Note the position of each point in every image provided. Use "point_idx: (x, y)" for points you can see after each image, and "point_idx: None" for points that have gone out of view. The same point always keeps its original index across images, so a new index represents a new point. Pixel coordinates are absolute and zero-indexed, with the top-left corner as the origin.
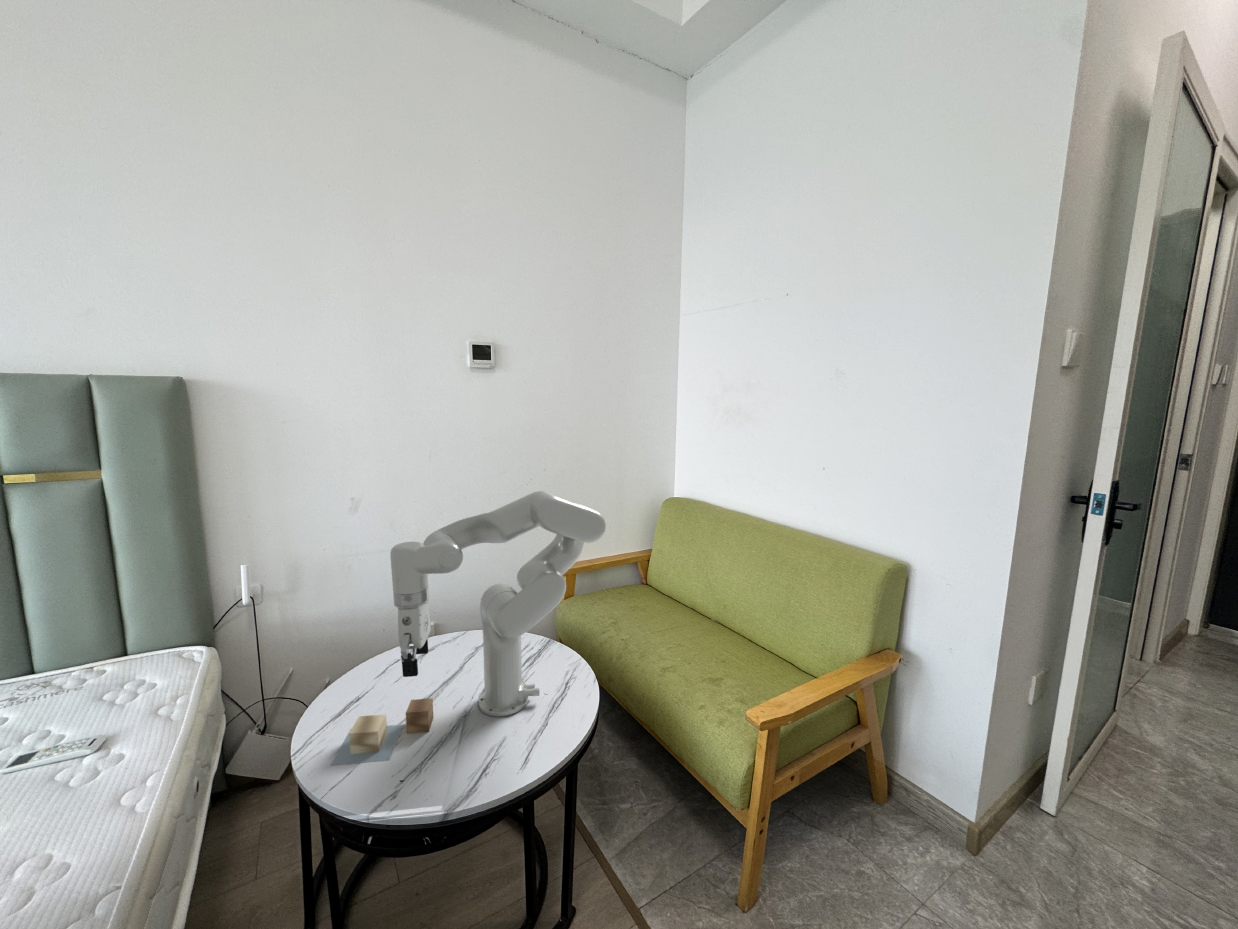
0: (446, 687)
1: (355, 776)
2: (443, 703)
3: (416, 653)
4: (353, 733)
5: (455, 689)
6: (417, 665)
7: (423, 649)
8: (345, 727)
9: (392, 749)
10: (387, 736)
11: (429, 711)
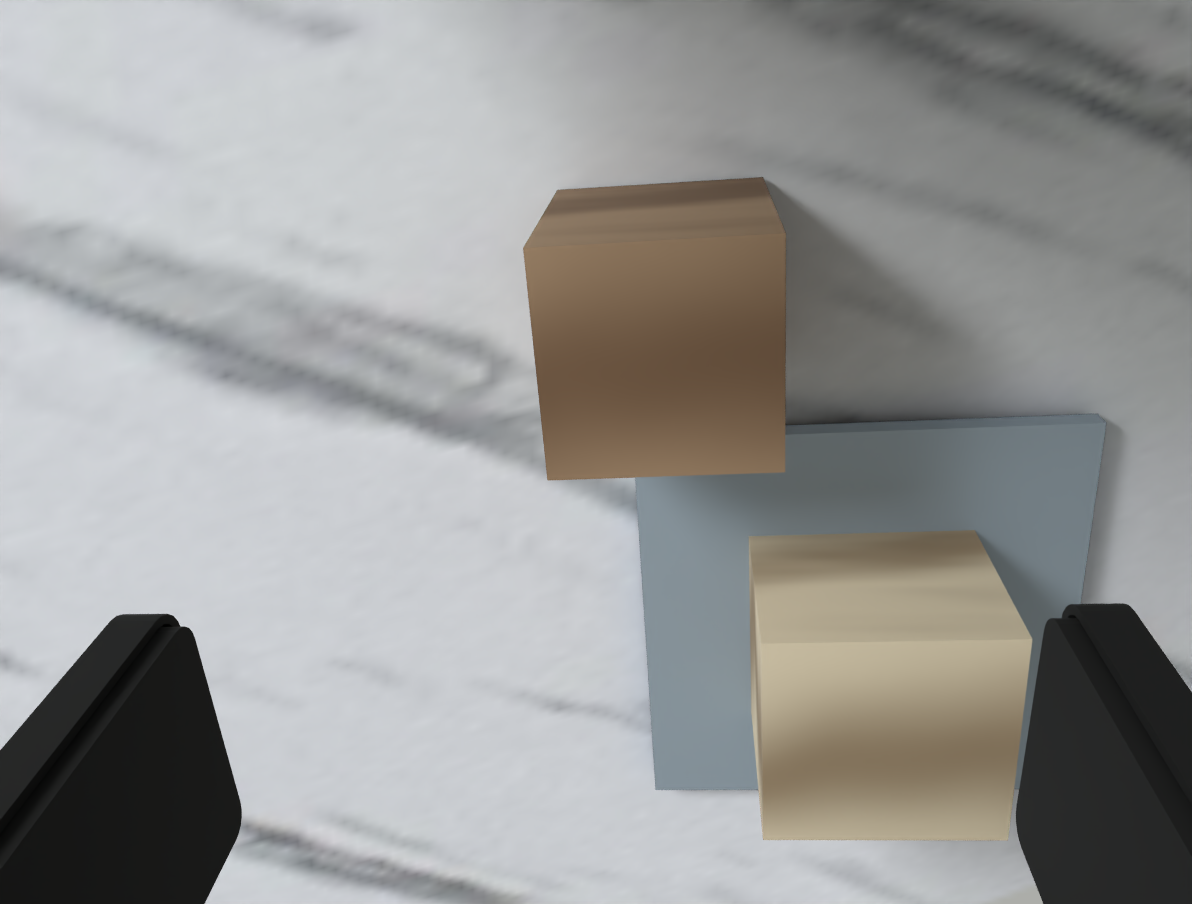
0: (9, 204)
1: (1174, 602)
2: (275, 164)
3: (228, 808)
4: (1009, 811)
5: (25, 95)
6: (1185, 753)
7: (155, 748)
8: (600, 818)
9: (969, 438)
10: (785, 524)
11: (714, 225)
